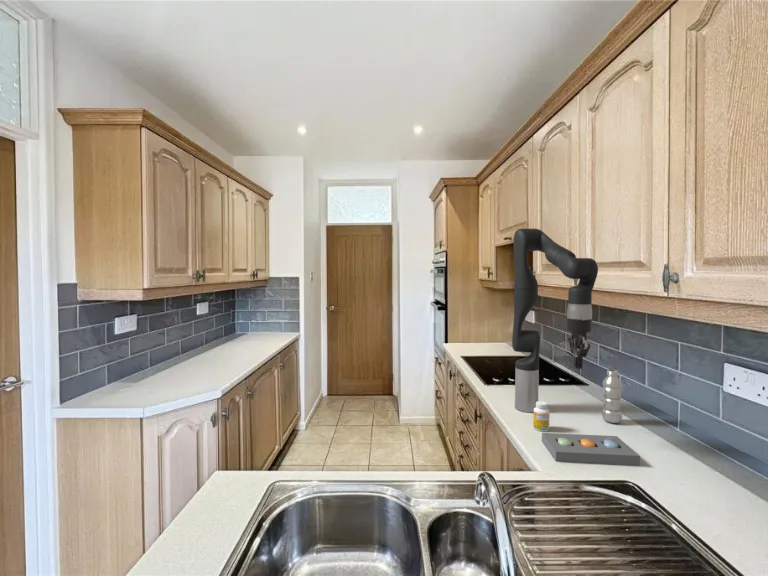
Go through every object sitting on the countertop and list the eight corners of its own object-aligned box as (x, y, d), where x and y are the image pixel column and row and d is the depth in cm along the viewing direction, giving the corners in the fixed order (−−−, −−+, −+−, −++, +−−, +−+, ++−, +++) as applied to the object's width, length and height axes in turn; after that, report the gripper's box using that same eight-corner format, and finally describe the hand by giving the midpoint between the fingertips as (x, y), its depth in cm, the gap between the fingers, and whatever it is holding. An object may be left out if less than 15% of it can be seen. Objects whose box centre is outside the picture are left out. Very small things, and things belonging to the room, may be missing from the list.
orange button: (578, 445, 125) (578, 438, 125) (591, 446, 124) (591, 439, 124) (583, 451, 121) (583, 443, 121) (597, 452, 120) (597, 444, 120)
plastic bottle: (616, 426, 144) (618, 373, 143) (598, 420, 149) (599, 369, 149) (625, 423, 147) (626, 371, 147) (606, 417, 153) (608, 367, 152)
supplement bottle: (536, 424, 145) (536, 399, 145) (551, 428, 142) (551, 402, 142) (531, 429, 141) (531, 403, 141) (546, 433, 138) (547, 406, 137)
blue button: (601, 446, 124) (601, 439, 124) (614, 447, 124) (614, 440, 124) (607, 452, 120) (607, 445, 120) (620, 453, 120) (620, 445, 120)
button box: (541, 441, 131) (541, 432, 131) (616, 444, 128) (616, 436, 128) (555, 461, 117) (555, 451, 117) (639, 465, 115) (640, 455, 114)
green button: (556, 444, 126) (556, 437, 126) (568, 445, 125) (569, 438, 125) (560, 450, 122) (560, 442, 122) (573, 450, 121) (573, 443, 121)
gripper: (560, 315, 137) (559, 363, 138) (575, 319, 124) (574, 372, 125) (583, 315, 136) (581, 363, 137) (599, 319, 123) (598, 373, 124)
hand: (578, 368), depth 131 cm, fingers closed
